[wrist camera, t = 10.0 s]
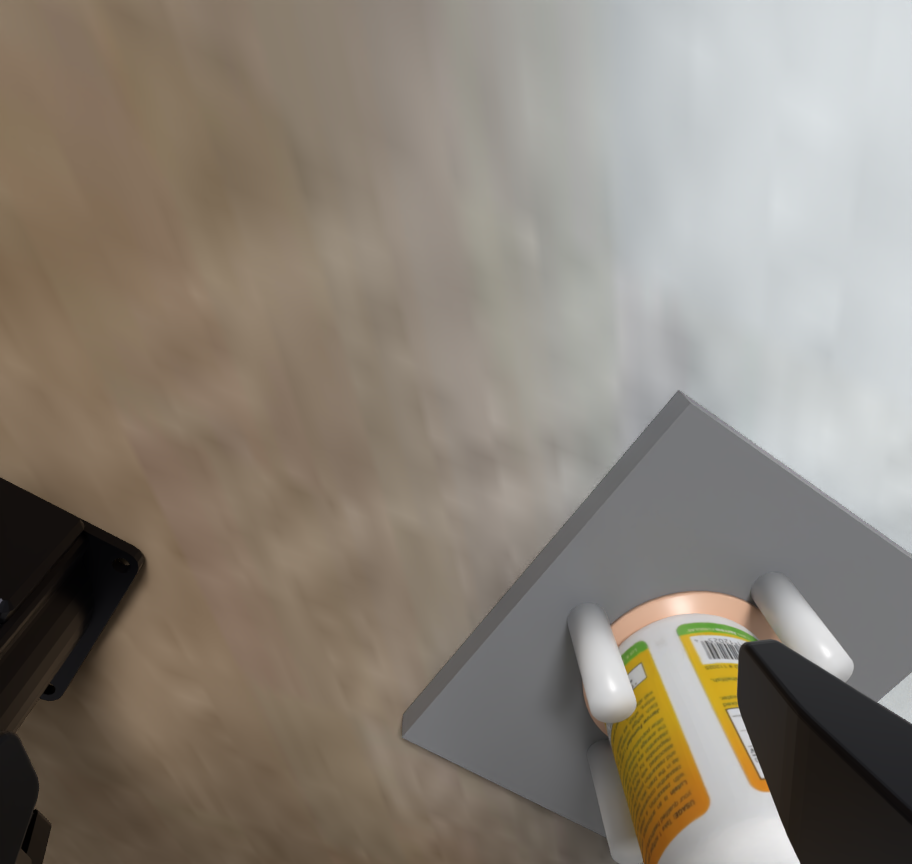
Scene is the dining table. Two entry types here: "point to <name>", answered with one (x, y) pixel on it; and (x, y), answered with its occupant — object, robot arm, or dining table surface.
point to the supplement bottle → (693, 749)
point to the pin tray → (660, 611)
